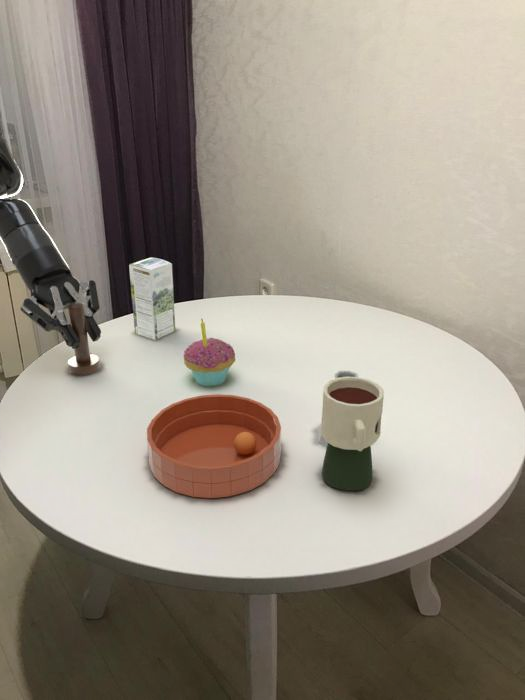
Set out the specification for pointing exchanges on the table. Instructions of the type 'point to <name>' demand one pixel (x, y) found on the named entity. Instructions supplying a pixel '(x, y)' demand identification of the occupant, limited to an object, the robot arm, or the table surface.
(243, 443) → the ball
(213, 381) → the cupcake
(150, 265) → the syrup box
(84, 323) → the brown peg stand
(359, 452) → the character mug
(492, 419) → the table surface
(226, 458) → the bowl
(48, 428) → the table surface
